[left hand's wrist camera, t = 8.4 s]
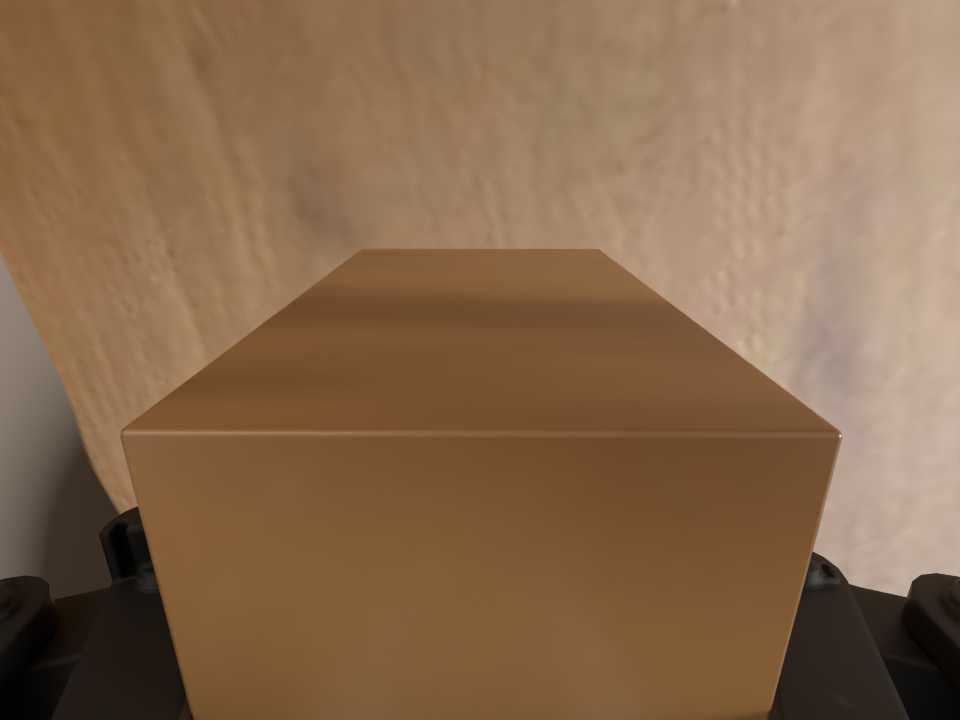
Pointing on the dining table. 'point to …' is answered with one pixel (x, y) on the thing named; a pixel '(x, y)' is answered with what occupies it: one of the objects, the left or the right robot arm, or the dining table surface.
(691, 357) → the bar
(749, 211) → the dining table surface
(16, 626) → the left robot arm
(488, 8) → the dining table surface
